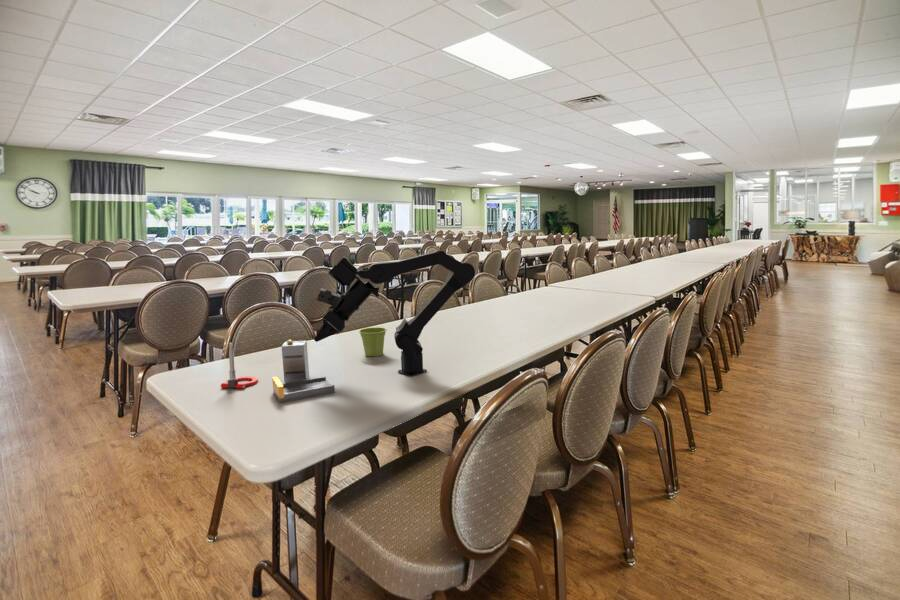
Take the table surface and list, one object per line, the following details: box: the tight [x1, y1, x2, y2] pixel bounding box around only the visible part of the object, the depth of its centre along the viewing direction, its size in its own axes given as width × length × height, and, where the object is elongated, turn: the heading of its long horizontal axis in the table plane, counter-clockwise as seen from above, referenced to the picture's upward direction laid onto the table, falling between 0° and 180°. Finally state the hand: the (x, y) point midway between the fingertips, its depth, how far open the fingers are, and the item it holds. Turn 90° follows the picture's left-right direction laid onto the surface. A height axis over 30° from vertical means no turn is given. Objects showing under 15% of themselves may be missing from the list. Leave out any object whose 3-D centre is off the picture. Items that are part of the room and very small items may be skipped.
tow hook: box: [220, 342, 259, 390], centre depth 133 cm, size 8×13×9 cm
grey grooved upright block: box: [281, 339, 310, 383], centre depth 135 cm, size 6×6×12 cm
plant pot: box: [358, 326, 388, 357], centre depth 161 cm, size 9×9×9 cm
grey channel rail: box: [271, 375, 336, 404], centre depth 125 cm, size 14×9×4 cm
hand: (317, 337), depth 135 cm, fingers open, 9 cm apart
